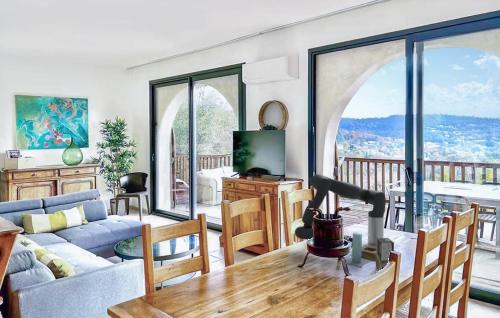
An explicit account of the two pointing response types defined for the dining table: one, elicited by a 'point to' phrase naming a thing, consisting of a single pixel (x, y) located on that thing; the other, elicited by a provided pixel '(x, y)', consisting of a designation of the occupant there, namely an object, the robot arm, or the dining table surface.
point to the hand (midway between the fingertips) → (352, 242)
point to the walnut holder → (368, 253)
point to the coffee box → (383, 252)
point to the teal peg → (357, 247)
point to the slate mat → (357, 263)
